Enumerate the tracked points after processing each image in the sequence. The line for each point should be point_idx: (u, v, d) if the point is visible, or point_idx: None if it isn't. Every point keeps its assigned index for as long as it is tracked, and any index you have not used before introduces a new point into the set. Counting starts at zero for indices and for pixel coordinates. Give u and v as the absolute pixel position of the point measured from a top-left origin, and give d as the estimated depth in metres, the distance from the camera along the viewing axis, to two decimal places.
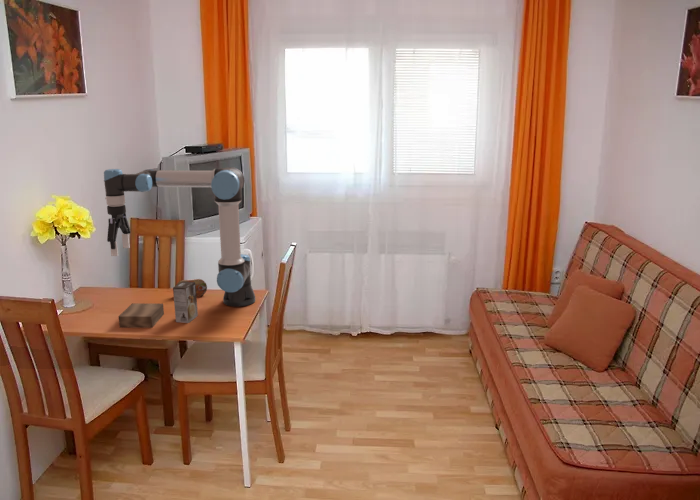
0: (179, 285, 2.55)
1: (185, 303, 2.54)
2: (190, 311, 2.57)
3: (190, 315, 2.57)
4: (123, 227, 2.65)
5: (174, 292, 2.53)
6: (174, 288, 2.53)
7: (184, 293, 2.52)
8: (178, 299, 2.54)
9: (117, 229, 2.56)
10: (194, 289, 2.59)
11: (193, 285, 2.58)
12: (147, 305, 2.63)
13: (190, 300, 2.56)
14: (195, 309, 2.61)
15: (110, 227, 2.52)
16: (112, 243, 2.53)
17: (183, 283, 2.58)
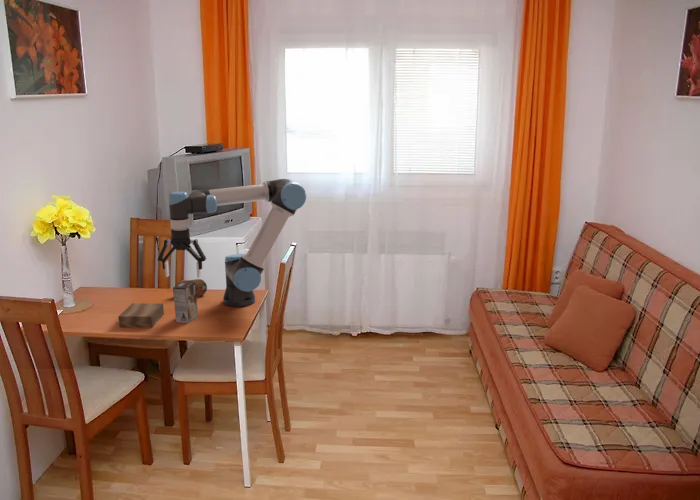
0: (179, 285, 2.55)
1: (185, 303, 2.54)
2: (190, 311, 2.57)
3: (190, 315, 2.57)
4: None
5: (174, 292, 2.53)
6: (174, 288, 2.53)
7: (184, 293, 2.52)
8: (178, 299, 2.54)
9: (171, 252, 2.51)
10: (194, 289, 2.59)
11: (193, 285, 2.58)
12: (147, 305, 2.63)
13: (190, 300, 2.56)
14: (195, 309, 2.61)
15: None
16: None
17: (183, 283, 2.58)
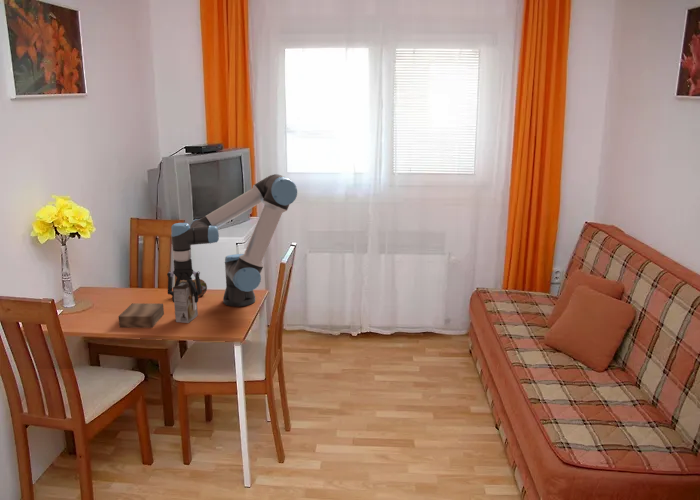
0: (179, 285, 2.55)
1: (185, 303, 2.54)
2: (190, 310, 2.57)
3: (190, 315, 2.57)
4: None
5: (174, 292, 2.53)
6: (174, 288, 2.53)
7: (184, 293, 2.52)
8: (178, 299, 2.54)
9: (177, 283, 2.55)
10: None
11: None
12: (147, 305, 2.63)
13: (190, 300, 2.56)
14: None
15: None
16: None
17: (183, 283, 2.58)
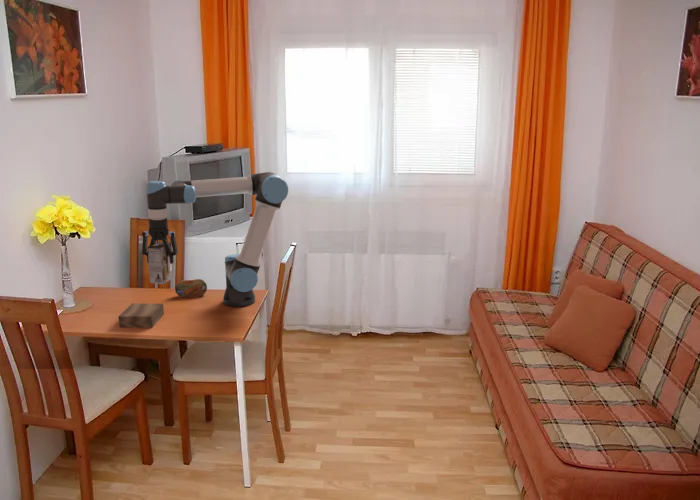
0: (154, 245, 2.49)
1: (160, 263, 2.48)
2: (165, 271, 2.51)
3: (165, 276, 2.51)
4: None
5: (149, 252, 2.47)
6: (149, 247, 2.47)
7: (159, 253, 2.47)
8: (153, 259, 2.48)
9: (152, 243, 2.49)
10: None
11: None
12: (147, 305, 2.63)
13: (165, 260, 2.51)
14: (170, 271, 2.55)
15: None
16: None
17: (158, 243, 2.52)
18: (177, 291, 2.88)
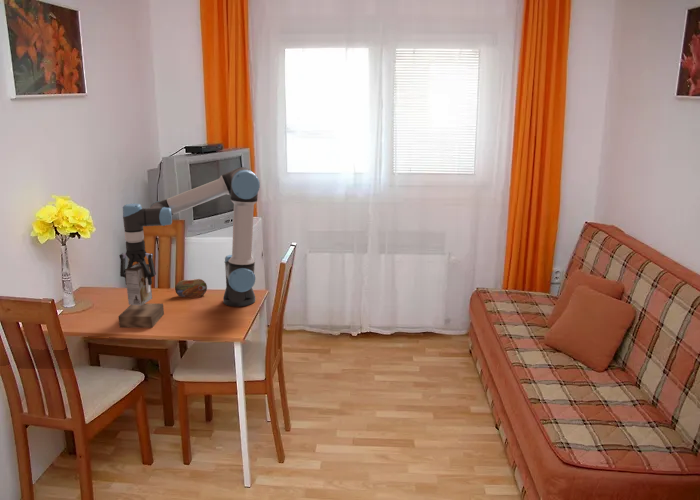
0: (132, 267, 2.51)
1: (137, 285, 2.50)
2: (143, 293, 2.53)
3: (143, 297, 2.53)
4: None
5: (126, 274, 2.49)
6: (126, 270, 2.49)
7: (136, 275, 2.48)
8: (130, 281, 2.50)
9: (129, 265, 2.51)
10: None
11: None
12: (147, 305, 2.63)
13: (143, 282, 2.52)
14: (149, 292, 2.57)
15: None
16: None
17: (136, 265, 2.54)
18: (177, 291, 2.88)
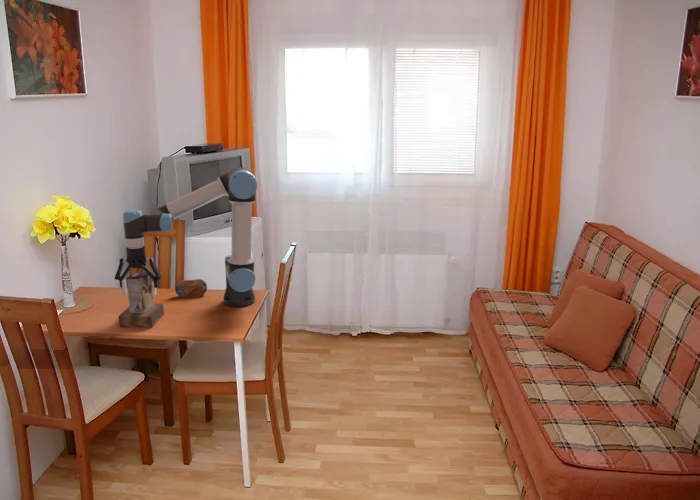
0: (133, 275, 2.52)
1: (139, 293, 2.50)
2: (145, 301, 2.54)
3: (144, 305, 2.54)
4: None
5: (128, 282, 2.50)
6: (128, 278, 2.50)
7: (138, 283, 2.49)
8: (132, 289, 2.51)
9: (127, 270, 2.52)
10: (149, 279, 2.56)
11: (148, 275, 2.55)
12: None
13: (145, 290, 2.53)
14: (150, 300, 2.58)
15: None
16: None
17: (137, 273, 2.55)
18: (177, 291, 2.88)
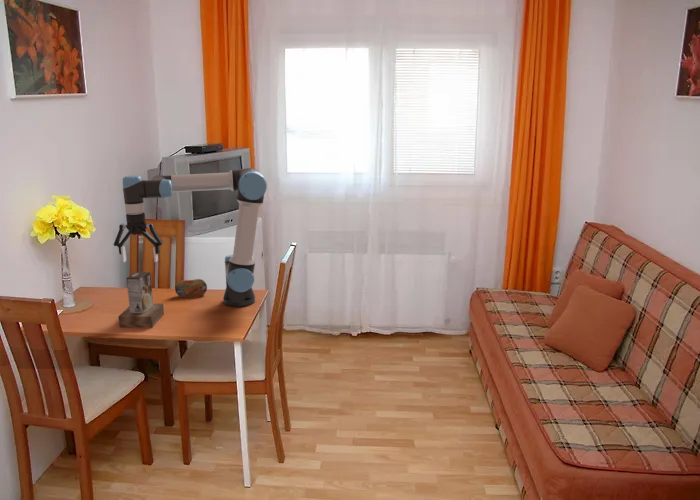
0: (133, 275, 2.52)
1: (139, 293, 2.50)
2: (145, 301, 2.54)
3: (144, 305, 2.54)
4: None
5: (128, 282, 2.50)
6: (128, 278, 2.50)
7: (138, 283, 2.49)
8: (132, 289, 2.51)
9: (126, 236, 2.49)
10: (149, 279, 2.56)
11: (148, 275, 2.55)
12: None
13: (145, 290, 2.53)
14: (150, 300, 2.58)
15: None
16: None
17: (137, 273, 2.55)
18: (177, 291, 2.88)
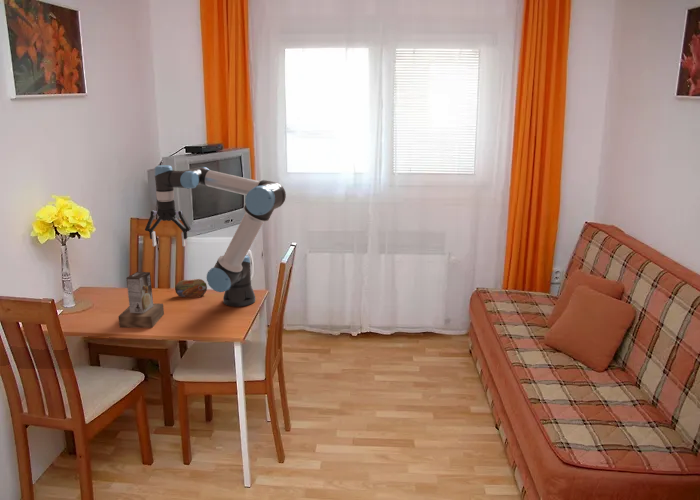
0: (133, 275, 2.52)
1: (139, 293, 2.50)
2: (145, 301, 2.54)
3: (144, 305, 2.54)
4: None
5: (128, 282, 2.50)
6: (128, 278, 2.50)
7: (138, 283, 2.49)
8: (132, 289, 2.51)
9: (157, 222, 2.67)
10: (149, 279, 2.56)
11: (148, 275, 2.55)
12: None
13: (145, 290, 2.53)
14: (150, 300, 2.58)
15: None
16: None
17: (137, 273, 2.55)
18: (177, 291, 2.88)
